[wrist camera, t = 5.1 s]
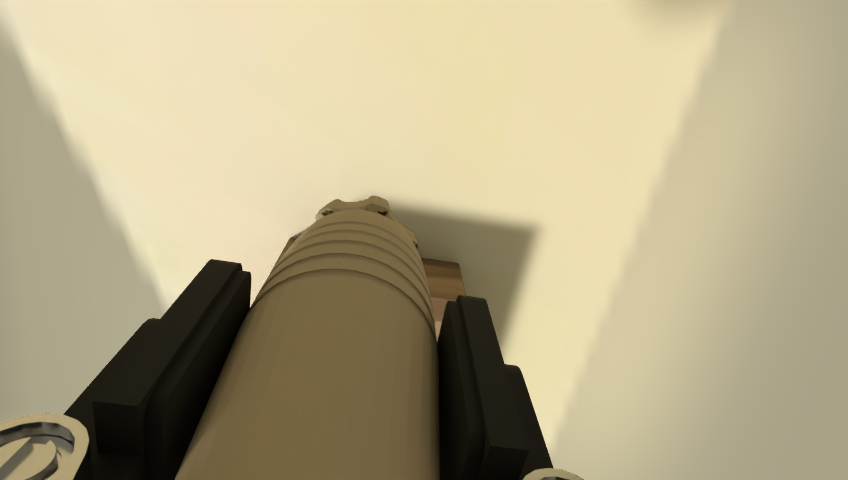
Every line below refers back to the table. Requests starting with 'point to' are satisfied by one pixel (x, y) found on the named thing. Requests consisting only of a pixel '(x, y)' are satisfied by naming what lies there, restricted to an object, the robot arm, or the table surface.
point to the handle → (330, 363)
